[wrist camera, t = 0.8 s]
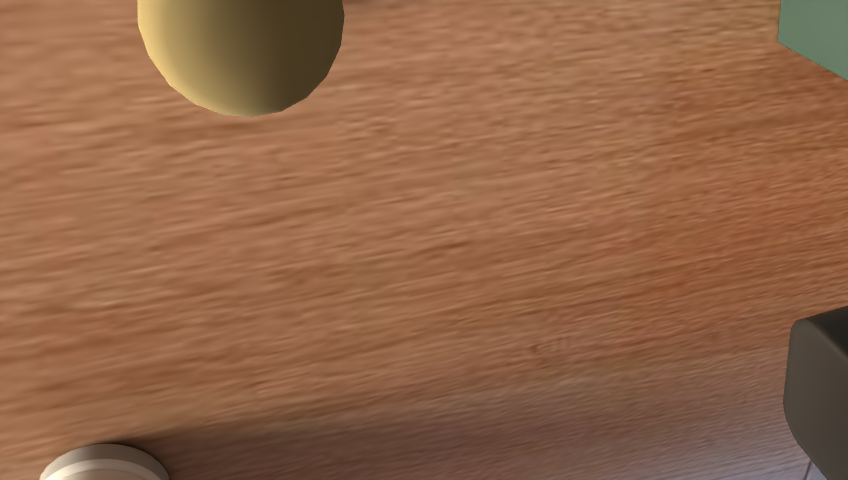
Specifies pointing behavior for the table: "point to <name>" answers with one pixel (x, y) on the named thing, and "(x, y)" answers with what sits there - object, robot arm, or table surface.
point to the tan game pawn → (242, 50)
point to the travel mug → (105, 464)
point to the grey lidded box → (817, 32)
